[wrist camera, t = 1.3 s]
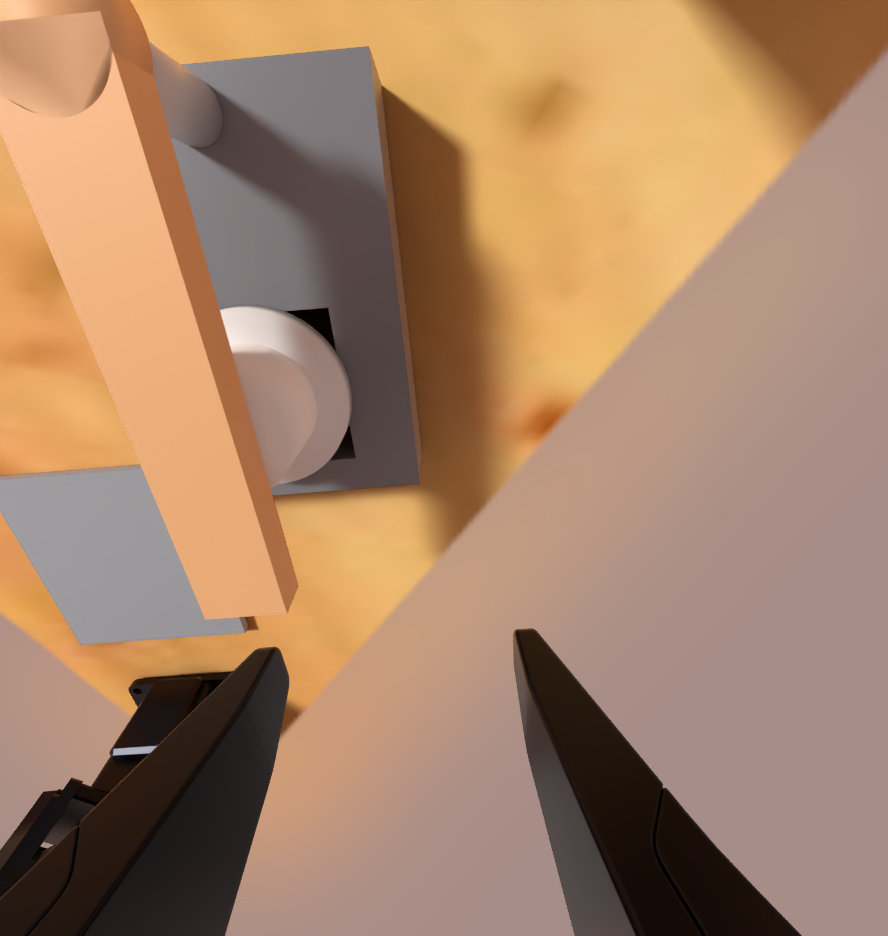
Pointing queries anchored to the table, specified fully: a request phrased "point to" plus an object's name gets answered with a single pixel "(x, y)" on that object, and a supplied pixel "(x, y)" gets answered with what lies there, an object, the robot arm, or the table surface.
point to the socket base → (306, 226)
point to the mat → (106, 555)
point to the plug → (289, 389)
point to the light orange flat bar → (142, 286)
